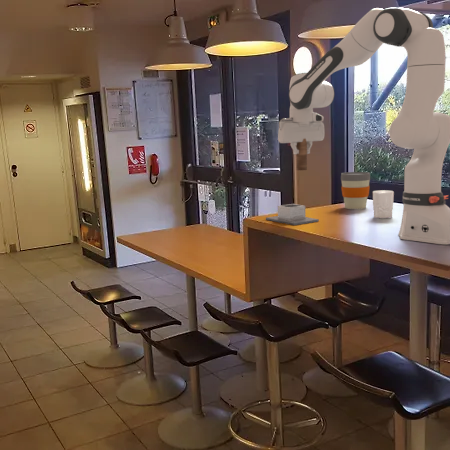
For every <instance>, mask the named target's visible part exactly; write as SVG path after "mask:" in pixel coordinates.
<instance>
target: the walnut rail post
mask: <svg viewBox="0 0 450 450" xmlns="http://www.w3.org/2000/svg"><path fill="white" fill-rule="evenodd" d="M296 148H297V150H299V154H297V155H296V157H295V158H296V171H307V170H308V154H307V141H306V139H303V141H302V142H297V145H296Z"/></svg>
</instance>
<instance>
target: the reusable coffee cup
mask: <svg viewBox="0 0 450 450" xmlns="http://www.w3.org/2000/svg"><path fill="white" fill-rule="evenodd" d="M370 180H371V174H370V172H368V171H349V172H341V175H340V181H341V186H340V187H341V188H340V189H341V196H342V197H343V204H344V209H348V210H365V209H366V208H367V202H368V197H369V195H370Z"/></svg>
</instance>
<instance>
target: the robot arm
mask: <svg viewBox="0 0 450 450" xmlns="http://www.w3.org/2000/svg"><path fill="white" fill-rule="evenodd" d="M444 37H445V36H444V35H443V32H442V31H441V30H439V29H437V28H434V24H433V21H432V19H431V18H430V16H429V15H427V14H426V13H424V12H422V11H421V12H420V11H416V10H413V9H410V8H404V7H388V8H385V9H383V8H379V7H376V8H372V9H370V10H369V11H368V12H367V13H366V14H364V15H363V16H362V17H361V18H360V19H359V20H358V21H357V22H356V23H355V25H354V26H353V27H352V28H351V29H350V30H349V32H348V33H347V34H346V35H345V36H344V38H342V39H341V41H339V42H338V43H337V44H336V45H334V47H332V48H331V49H330V50H329V51H328V52H326V53H325V54H324V55H323V56H322V57H321V58H320V59H319V60H318V61H317V62H316V63H315V64H314V65H313V66H312V67H311V68H310V69H309V70H308V71H307V72H302V73H301V72H300V73H297V74H294V75H293V76H291V78H290V82H289V89H288V90H289V91H288V99H289V100H288V101H289V102H290V106H289V117H287V118H285V117H283V118H281V119H280V120H279V122H278V132H277V133H278V134H277V140H278V142H279V144H289V143H290V147H291V149H292V152H293V153H292V154H293V155H297V154H299V150H297V148H296V145H297V142H302V141H303V139H306V141H307V155H308V154H311V149H312V146H313V142H321V141H323V140H324V139H325V135H326V134H325V132H326V131H325V124H324V119H325V117H324V116H323V115H321V114H319V113H317V112H314V109H321V108H322V109H323V108H326V107H329V106H330V105H331V104H332V103H333V101H334V98H335V88H334V86H333V85H332V83H331V82H329V81H326V80H327V79H328V78H329V77H330V76H331V75H333V74H334V73H335V72H338V71H341V70H343V69H347V68H352V67H357V66H360V65H363V64H364V63H366V62H367V61H368V60H369V59H371V58H372V57H373V56H374V54H375V53H376V52H377V51H378V50H379V48H380V47H381V46H382V45H383V44H385V45H388V46H394V47H396V48H397V47H399V48H400V47H401V48H402V47H403V48H404V49H405V50H406V53H407V61H406V62H407V63H406V67H407V68H406V85H405V87H406V88H405V94H404V99H403V103H402V105H401V108H400V109H399V110H400V111H399V112H398V114H397V116H396V117H395V118H394V119H393V120H392V121H391V124H390V125H389V126H390V127H389V130H388V131H389V138H390V141H391V142H392V143H393V144H394V145H395V146H397V147H398V148H402V149H407V150H413V152H412V156H411V158H410V160H409V162H408V163H406V165H405V166H404V177H403V178H404V179H403V180H404V181H403V182H404V183H403V184H404V186H403V189H404V191H402V205H403V210H402V218H401V224H400V228H399V230H398V236H399V239H400V240H405V241H415V242H421V243H428V244H436V245H443V246H444V245H450V207H449V206H448V205H447V204H446V203H447V201H446V200H448V199H449V194H448V195H444V193H443V192H442V174H443V173H442V171H443V166H444V160H445V158H446V154H447V150H448V148H449V145H450V115H449V114H446V113H443V112H440V111H435V108H436V106H437V102H438V100H439V99H440V97H442V95H443V94H444V92H445V85H446V84H445V82H446V80H445V79H446V59H447V58H446V44H445V38H444Z"/></svg>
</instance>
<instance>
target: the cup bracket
mask: <svg viewBox="0 0 450 450" xmlns="http://www.w3.org/2000/svg"><path fill="white" fill-rule="evenodd" d="M265 220H266V221H269V222H275V223H280V224H284V223H285V224H284V225H289V224H290V226H299V225H300V226H301V225H305V224H312V223H318V221H319V219H318V218H313V217H309V216H308V217H307V216H306V205H303V204H302V205H301V204H296V203H291V204H290V203H289V204H282V205H277V215H275V216H269V217H265Z"/></svg>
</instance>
